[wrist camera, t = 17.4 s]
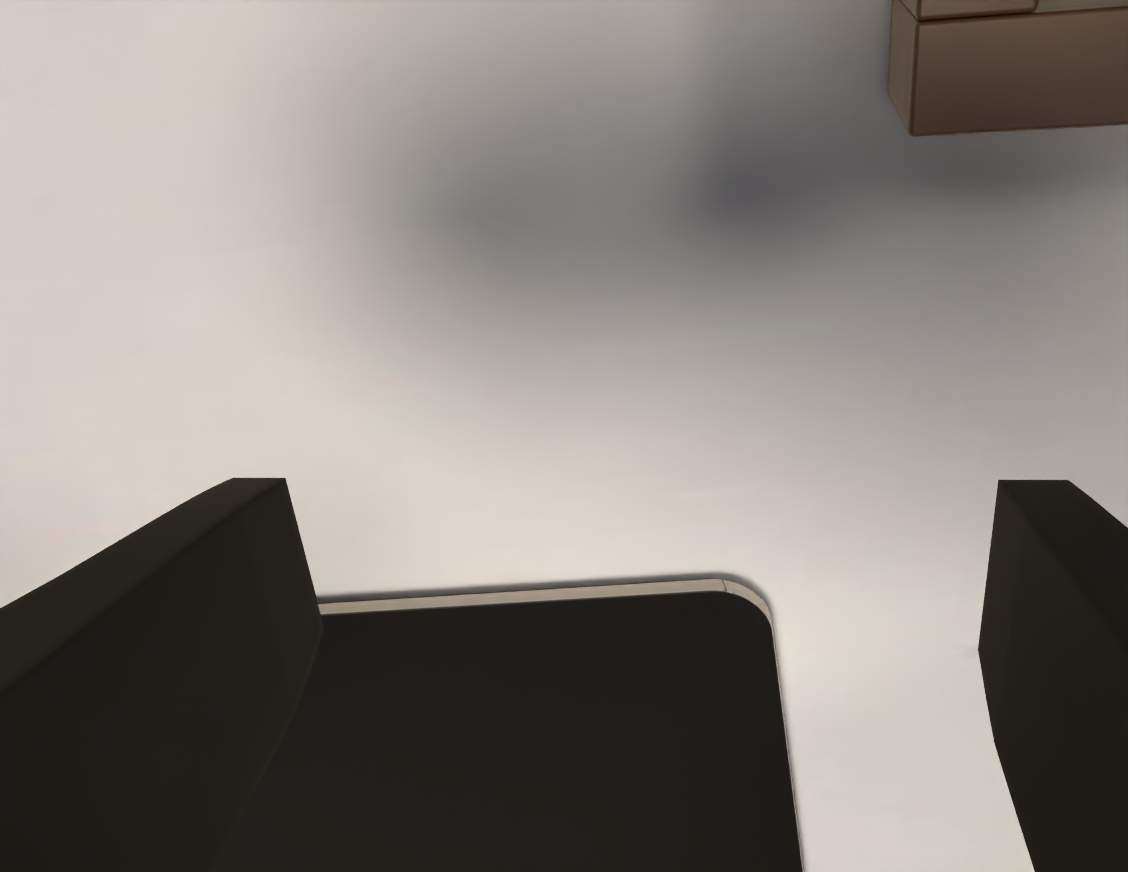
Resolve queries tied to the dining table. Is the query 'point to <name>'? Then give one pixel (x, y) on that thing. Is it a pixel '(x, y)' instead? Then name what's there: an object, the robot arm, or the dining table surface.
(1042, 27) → the stand
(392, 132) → the dining table surface
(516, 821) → the tablet
